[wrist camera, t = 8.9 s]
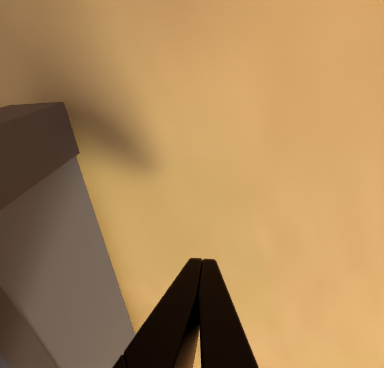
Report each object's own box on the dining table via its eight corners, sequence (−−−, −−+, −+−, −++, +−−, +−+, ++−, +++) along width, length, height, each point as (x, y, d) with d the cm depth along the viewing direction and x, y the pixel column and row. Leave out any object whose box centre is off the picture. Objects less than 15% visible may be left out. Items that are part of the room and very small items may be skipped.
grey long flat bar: (150, 374, 17) (123, 495, 12) (123, 371, 17) (87, 488, 13) (63, 102, 8) (-155, 176, 3) (9, 105, 8) (-258, 177, 4)
